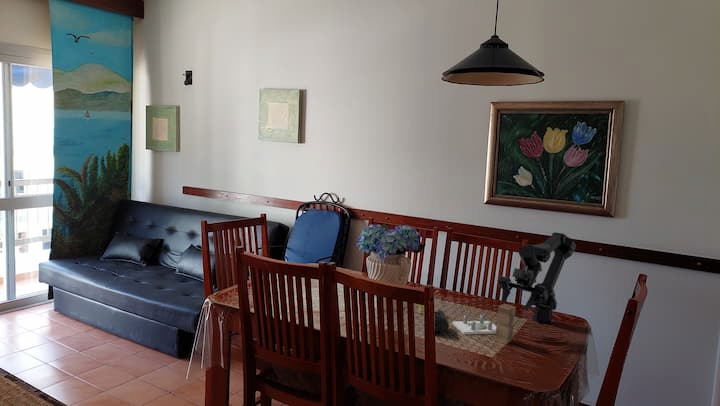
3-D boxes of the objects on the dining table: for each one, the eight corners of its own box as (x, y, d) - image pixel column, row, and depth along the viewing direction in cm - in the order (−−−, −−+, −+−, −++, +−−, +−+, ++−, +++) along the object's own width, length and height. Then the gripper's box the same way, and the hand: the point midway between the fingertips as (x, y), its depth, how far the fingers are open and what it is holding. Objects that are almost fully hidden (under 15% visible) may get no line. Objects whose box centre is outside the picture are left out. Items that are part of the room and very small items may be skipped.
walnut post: (501, 337, 190) (504, 303, 188) (512, 340, 186) (515, 307, 185) (495, 340, 186) (498, 306, 185) (506, 343, 183) (509, 309, 182)
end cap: (448, 336, 187) (449, 319, 186) (429, 335, 187) (430, 317, 187) (444, 326, 197) (446, 310, 196) (426, 325, 197) (427, 308, 197)
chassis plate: (489, 323, 204) (490, 313, 204) (502, 333, 193) (503, 323, 193) (452, 323, 201) (453, 314, 200) (463, 334, 190) (464, 324, 189)
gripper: (502, 255, 197) (485, 287, 191) (548, 266, 185) (532, 300, 178) (509, 272, 204) (493, 303, 197) (555, 283, 191) (539, 317, 184)
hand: (513, 305), depth 189 cm, fingers open, 9 cm apart
